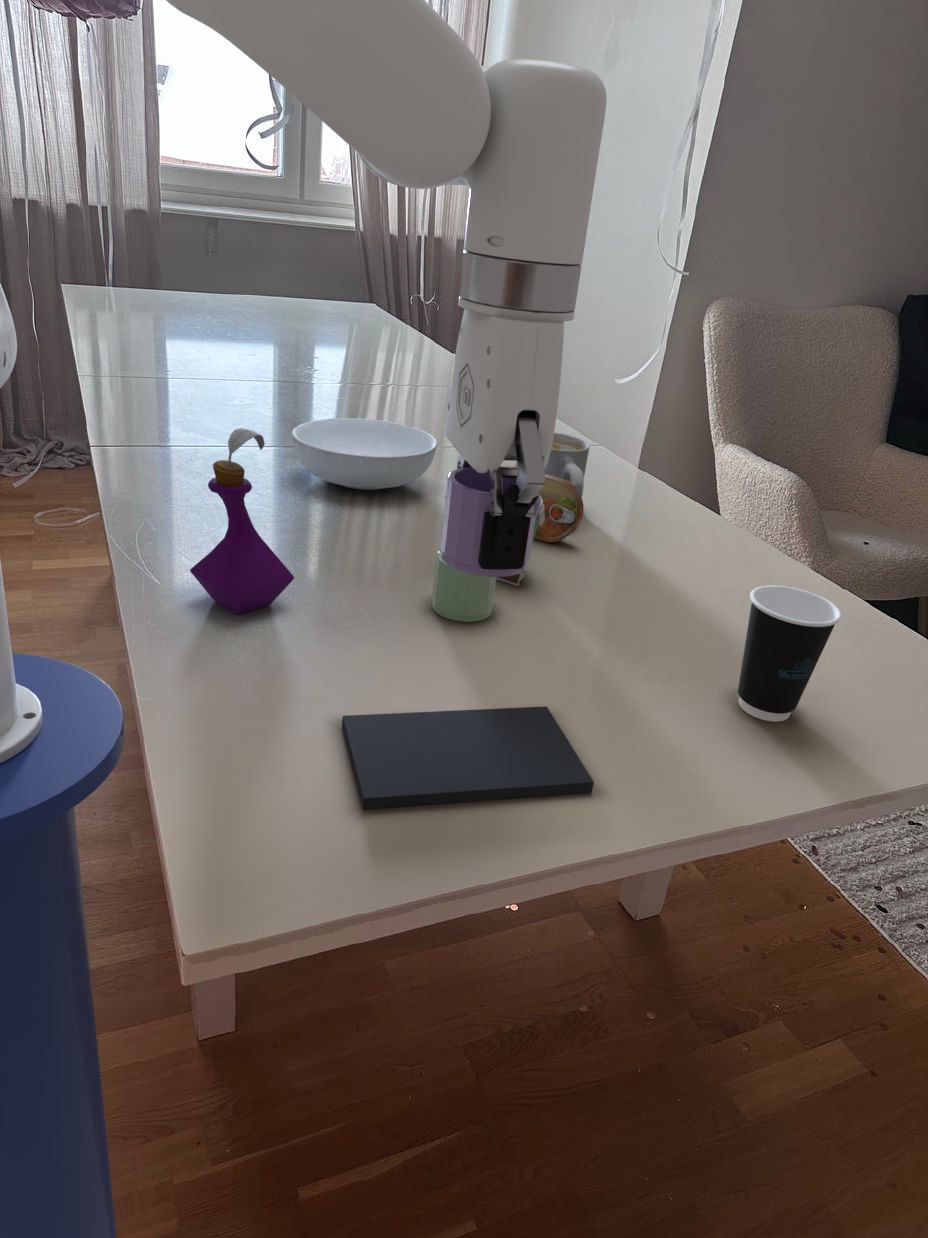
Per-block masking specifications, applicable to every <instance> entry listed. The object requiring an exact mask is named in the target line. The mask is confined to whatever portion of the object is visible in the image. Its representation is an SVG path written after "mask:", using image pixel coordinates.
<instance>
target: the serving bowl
mask: <svg viewBox="0 0 928 1238" xmlns="http://www.w3.org/2000/svg"><path fill="white" fill-rule="evenodd" d="M291 437H292V444H293V450H294V452H295V455H296V457H297V459H298V461H299V462H300V464H302V466H303V467H304V468H305V469H306V470H307V471H308V472H309V473H311V474H312V475H313V476H315V477H317V478H319V479H321V480H323V481H325V482H328V483H331V484H334V485H338V486H341V487H344V488H349V489H353V490H361V491H362V490H364V491H379V490H384V489H390V488H396V487H401V486H404V485H407V484H410V483H412V482H414V481H416V480H417V479H419V478H420V477H422V475H424V474H425V473H426V471H427V470H428V469H429V468H430V467H431V465H432V463H433V461H434V458H435V456H436V455H435V454H436V451H437V447H438V441H437V439H436V438H435V437H434V436H433V435H432V434H430V433H429V432H427V431H424V430H422V429H420V428H417V427H413V426H410V425H407V424H402V423H398V422H393V421H387V420H380V419H373V418H370V419H369V418H358V417H357V418H356V417H355V418H353V417H351V418H349V417H339V418H324V419H317V420H311V421H307V422H303V423H301V424H298V425H297V426H296V427H294V428H293V429H292V431H291Z"/></svg>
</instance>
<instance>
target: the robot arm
mask: <svg viewBox="0 0 928 1238" xmlns="http://www.w3.org/2000/svg"><path fill="white" fill-rule="evenodd" d="M165 1H166V2H167V3H168V4H169V5H171V6H172V7H173V8H175V9H176V10H177V11H179V12H180V13H182V14H184V15H186V16H188V17H190V18H191V19H194V20H195V21H197V22H199V23H201V24H203V25H205V26H206V27H208V28H210V29H212V30H213V31H214V32H216V33H217V34H218V35H220V36H221V37H223V38H224V39H225V40H227V41H228V42H230V43H231V44H232V45H233V46H234V47H235V48H237V49H238V50H239V51H241V52H242V53H243V54H244V55H245V56H246V57H248V58H249V59H250V60H251V61H253V62H254V63H255V64H256V65H257V66H258V67H260V68H261V69H262V70H263V71H265V72H266V73H267V74H268V75H269V76H270V77H272V78H273V80H275V81H276V82H277V83H278V84H280V85H281V86H282V87H283V88H284V89H285V90H286V91H287V92H288V93H290V94H291V95H292V96H293V97H294V98H295V99H296V100H298V101H300V103H301V104H302V105H304V106H305V107H306V108H307V109H308V110H309V111H310V112H311V113H312V114H314V115H315V117H317V118H318V119H319V120H320V121H321V122H322V123H324V124H325V125H326V126H327V127H328V128H329V129H331V131H332V132H334V133H335V134H336V135H337V136H338V137H339V138H341V140H343V142H345V143H346V144H347V145H348V146H349V147H350V148H351V149H353V150H354V152H355V153H356V155H357V156H358V158H359V160H360V161H361V162H362V163H363V164H364V166H365V167H366V168H367V169H368V170H369V171H370V172H372V174H374V175H376V177H378V178H380V179H382V180H383V181H385V182H387V183H390V184H392V185H395V186H398V187H401V188H402V187H403V188H409V189H412V190H428V189H435V188H439V187H442V186H468V188H469V195H468V204H467V213H466V214H467V215H466V223H465V232H464V234H465V236H464V243H463V255H462V263H461V273H460V281H459V282H460V284H459V293H458V294H459V296H458V302H457V305H458V307H461V308H462V309H464V310H463V314H462V318H461V323H460V328H459V332H458V338H457V344H456V349H455V355H454V361H453V368H452V375H451V381H450V388H449V395H448V403H447V410H446V418H445V426H444V431H445V436H446V438H447V440H448V442H449V443H450V444H451V445H452V447H453V448H454V449H455V450H456V451H457V452H458V454H459V457H458V458H457V459H458V460H457V465H456V469H459V468H465V467H472V468H473V469H475V470H476V471H477V472H478V473H486V472H487V471H488V469H489V472H490V512H484V517H483V525H482V533H481V541H480V549H479V557H478V564H479V565H480V567H481V568H482V569H520V568H522V567H523V565H524V561H525V554H526V547H527V541H528V534H529V527H530V521H531V517H532V516H533V514H534V504H535V502H536V500H537V499H538V496H537V495H538V493H539V492H540V490H541V489H542V488H543V486H544V484H545V470H544V469H545V468H546V467H547V464H548V461H549V457H550V452H551V447H552V442H553V436H554V432H555V428H556V421H557V414H558V405H559V397H560V388H561V379H562V378H561V377H562V366H563V351H564V337H565V334H564V333H565V322H571V321H574V316H575V312H576V311H575V310H576V304H577V297H578V291H579V285H580V277H581V272H582V264H583V258H584V254H585V246H586V239H587V234H588V233H587V232H588V227H589V219H590V215H591V207H592V201H593V193H594V189H595V188H594V187H595V181H596V176H597V169H598V163H599V156H600V151H601V143H602V138H603V137H602V136H603V130H604V125H605V124H604V123H605V120H606V119H605V117H606V110H607V90H606V86H605V84H604V81H603V80H602V79H601V77H600V76H599V75H598V74H597V73H595V72H594V71H592V70H590V69H589V68H585V67H582V66H579V65H576V64H571V63H566V62H562V61H554V60H547V59H538V58H537V59H536V58H508V59H504V60H503V59H502V60H500V61H497V62H495V63H493V64H492V65H491V66H486V65H481V64H480V63H479V61H478V60H477V58H476V56H475V53H474V52H473V51H472V50H471V48H470V47H469V45H468V44H467V43H466V42H465V40H463V38H462V37H461V36H460V35H459V34H458V33H457V32H456V31H455V30H454V28H452V26H451V25H450V24H449V23H448V22H447V21H446V20H445V19H444V18H443V17H442V15H440V14H439V13H438V12H437V11H436V9H434V8H433V7H432V6H431V5H430V3H428V2H427V1H426V0H165ZM13 319H14V318H13V315H12V312H11V309H10V307H9V303H8V300H7V297H6V295H5V292H4V290H3V287H2V284H1V283H0V389H1V388H2V387H3V386H4V385H5V384H6V382H7V381H8V380H9V378H10V376H11V374H12V372H13V370H14V367H15V364H16V361H17V355H18V341H17V339H18V338H17V332H16V328H15V323H14V320H13ZM504 461H512V462H513V461H515V462H516V461H518V467H519V468H503V467H501V465H502V463H503V462H504ZM503 479H516V484H515V485H511V484H510V485H509V487H508V488H507V490H506V491H505V492H504V494H503ZM2 570H3V569H2V561H1V559H0V763H2V762H4V761H6V760H8V759H10V758H12V757H13V756H15V755H16V754H18V753H19V752H21V751H22V750H23V749H25V748H26V747H27V746H28V745H29V744H30V743H31V742H32V741H33V740H34V739H35V737H36V736H37V735H38V733H39V732H40V729H41V726H42V723H43V719H42V708H41V704H40V701H39V700H38V698H37V697H36V695H35V694H33V693H32V692H31V691H30V690H28V689H27V688H25V687H23V686H21V685H19V684H17V683H16V681H15V673H14V665H13V657H12V653H13V649H12V641H11V635H10V626H9V618H8V610H7V602H6V592H5V585H4V578H3V571H2Z"/></svg>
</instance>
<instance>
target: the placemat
mask: <svg viewBox="0 0 928 1238" xmlns="http://www.w3.org/2000/svg"><path fill="white" fill-rule="evenodd" d="M341 727H342V731H343V735H344V739H345V743H346V747H347V751H348V755H349V760H350V763H351V767H352V772H353V775H354V779H355V784H356V787H357V791H358V795H359V798H360V803H361V807H362V810H374V809H387V808H401V807H412V806H413V807H414V806H415V807H416V806H426V805H427V806H428V805H438V804H439V805H441V804H453V803H467V802H479V801H493V800H505V799H518V798H519V799H520V798H521V799H522V798H533V797H546V796H558V795H571V794H572V795H573V794H585V793H586V794H587V793H593V790H594V784H595V781H594V779H593V778H592V776H591V775H590V773H589V772H588V770H587V769H586V767H585V765H584V764H583V762H582V760H581V759H580V758H579V756H578V754H577V753H576V751H575V749H574V748H573V746H572V745H571V743H570V741H569V740H568V738H567V736H566V735H565V733H564V731H563V730H562V729H561V726H560V725H559V724H558V722H557V721H556V718H555V717H554V716H553V714H552V713H551V711H550V709H549V708H548V706H544V705H543V706H525V707H524V706H523V707H506V708H505V707H502V708H484V709H481V708H480V709H459V710H458V709H457V710H437V711H416V712H396V713H395V712H393V713H371V714H353V715H342V717H341Z"/></svg>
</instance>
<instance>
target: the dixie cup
mask: <svg viewBox="0 0 928 1238" xmlns="http://www.w3.org/2000/svg"><path fill="white" fill-rule="evenodd" d="M749 599H750V601H751V605H750V611H749V617H748V624H747V630H746V637H745V643H744V649H743V654H742V655H743V656H742V660H741V661H742V662H741V668H740V674H739V680H738V681H739V682H738V687H737V693H738V696H739V697H738V705H739V707H740V708H741V709H742V711H744V712H745V713H747V714H748V715H750V716H752V717H754V718H756V719H760V720H763V721H767V722H777V723H778V722H783V721H787V720H788V719H789V718H790V716H791V714H792V712H794V711H795V710H796V708H797V707H798V705H799V702H800V700H801V698H802V697H803V694H804V692H805V690H806V688H807V686H808V683H809V681H810V679H811V677H812V674H813V673H814V670H815V668H816V666H817V664H818V662H819V660H820V657H821V655H822V653H823V651H824V649H825V647H826V644H827V642H828V640H829V639H830V637H831V634H832V632H833V630H834V628H835V625H836V624H838V623H839V622H840V621H841V620H842V612H841V610H840V609H839V607H838V606H837V605H835V603H833V602H832V601H830V600H828V599H827V598H825V597H823V596H821V595H818V594H817V593H815V592H814V593H813V592H811V591H807V590H806V589H805V590H804V589H801V588H796V587H791V586H785V585H775V584H774V585H772V584H771V585H770V584H769V585H761V586H758V587H755V588H754V589H753V590H751V591H750V593H749Z"/></svg>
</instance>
